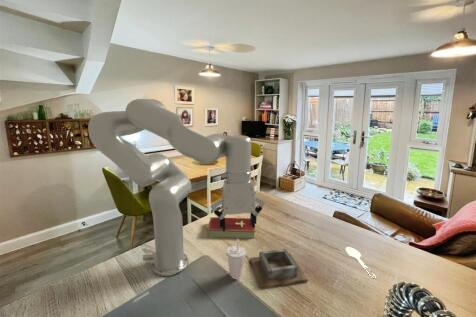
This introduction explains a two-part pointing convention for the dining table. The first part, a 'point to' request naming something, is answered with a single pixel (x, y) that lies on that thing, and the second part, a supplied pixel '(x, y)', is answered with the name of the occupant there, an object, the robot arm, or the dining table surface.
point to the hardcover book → (231, 228)
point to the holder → (277, 269)
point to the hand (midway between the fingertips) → (238, 227)
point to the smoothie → (236, 260)
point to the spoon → (357, 257)
